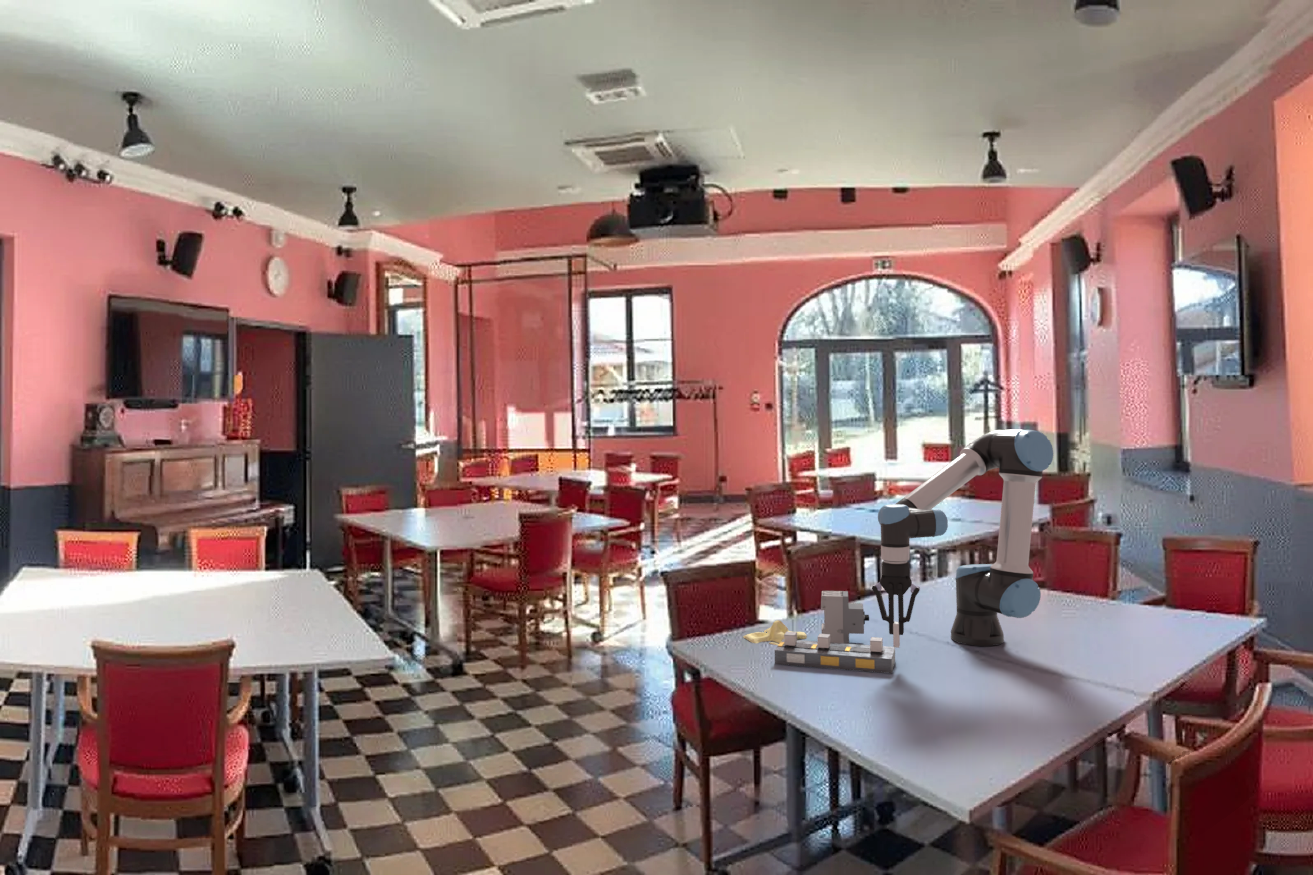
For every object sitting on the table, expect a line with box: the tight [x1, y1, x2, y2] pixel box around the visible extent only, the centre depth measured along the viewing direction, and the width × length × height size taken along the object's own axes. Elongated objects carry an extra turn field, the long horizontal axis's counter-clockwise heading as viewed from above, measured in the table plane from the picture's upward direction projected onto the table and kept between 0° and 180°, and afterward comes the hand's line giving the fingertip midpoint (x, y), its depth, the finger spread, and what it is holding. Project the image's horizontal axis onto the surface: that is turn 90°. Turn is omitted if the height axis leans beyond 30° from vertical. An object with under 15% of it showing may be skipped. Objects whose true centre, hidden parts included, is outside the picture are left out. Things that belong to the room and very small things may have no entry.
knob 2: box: [817, 633, 830, 648], centre depth 239 cm, size 3×4×3 cm
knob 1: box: [784, 630, 798, 646], centre depth 243 cm, size 3×4×3 cm
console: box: [774, 639, 896, 675], centre depth 238 cm, size 32×12×4 cm, turn 70°
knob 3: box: [869, 636, 884, 652], centre depth 234 cm, size 3×4×3 cm
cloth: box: [742, 619, 808, 646], centre depth 265 cm, size 22×19×6 cm
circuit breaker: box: [820, 590, 870, 644], centre depth 259 cm, size 8×14×15 cm, turn 78°
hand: (896, 646), depth 232 cm, fingers closed
